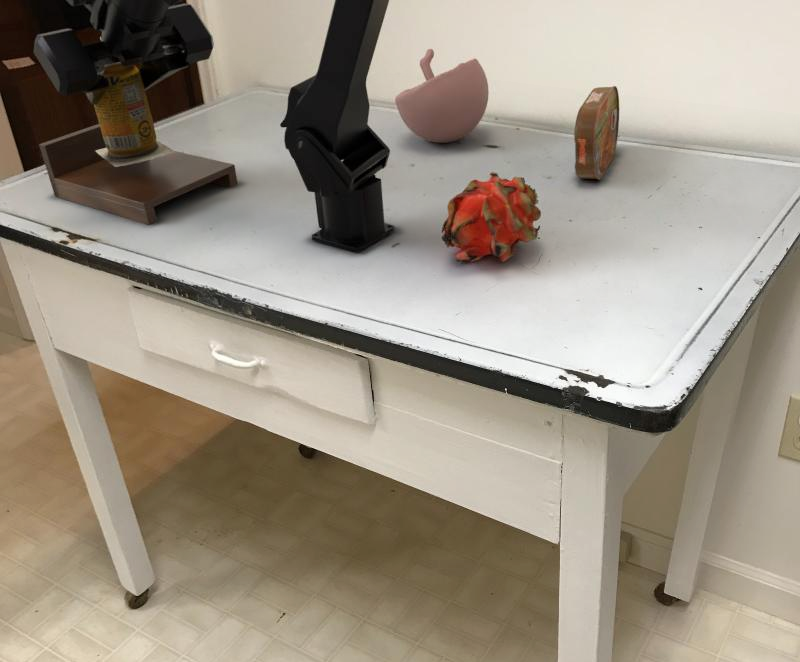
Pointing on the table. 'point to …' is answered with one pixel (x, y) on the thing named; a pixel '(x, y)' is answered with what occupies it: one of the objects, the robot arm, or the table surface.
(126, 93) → the condiment
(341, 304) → the table surface
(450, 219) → the dragon fruit
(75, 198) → the shelf
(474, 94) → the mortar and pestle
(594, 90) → the tin
